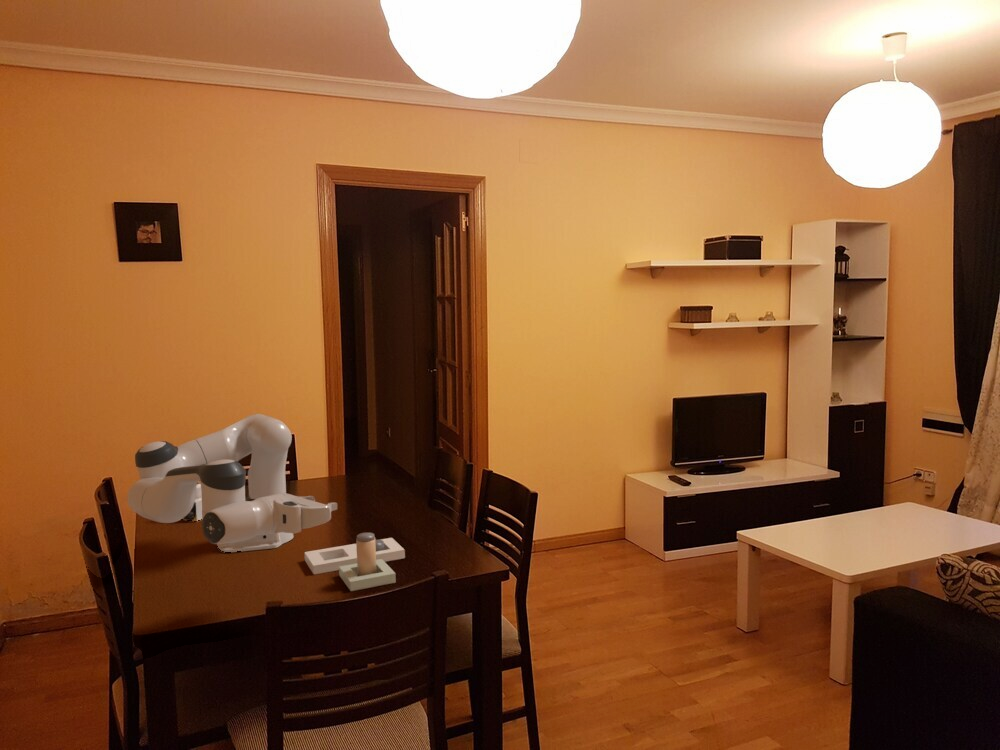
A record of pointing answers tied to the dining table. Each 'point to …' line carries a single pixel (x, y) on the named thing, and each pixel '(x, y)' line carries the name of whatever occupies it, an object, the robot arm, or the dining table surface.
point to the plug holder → (367, 576)
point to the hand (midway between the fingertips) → (324, 502)
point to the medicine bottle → (196, 506)
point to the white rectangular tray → (350, 555)
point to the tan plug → (366, 554)
